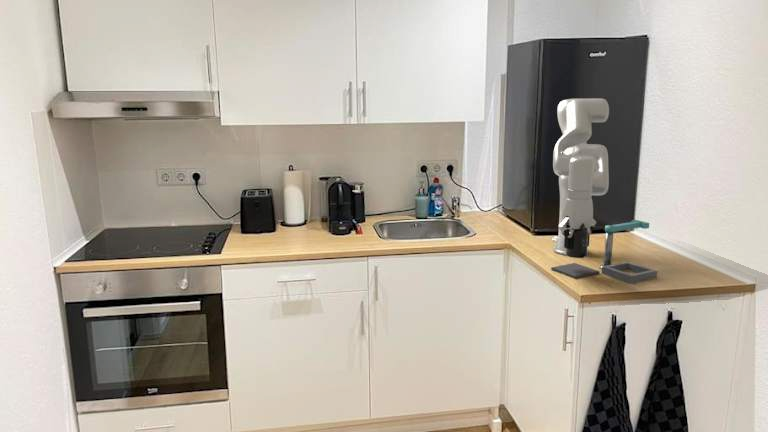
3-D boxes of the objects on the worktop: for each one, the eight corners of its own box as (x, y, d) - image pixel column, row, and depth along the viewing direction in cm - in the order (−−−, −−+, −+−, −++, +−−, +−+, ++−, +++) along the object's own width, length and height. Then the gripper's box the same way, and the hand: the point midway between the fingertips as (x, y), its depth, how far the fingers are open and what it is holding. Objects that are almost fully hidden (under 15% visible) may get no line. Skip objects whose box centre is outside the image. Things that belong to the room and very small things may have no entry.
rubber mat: (551, 269, 195) (551, 267, 195) (574, 265, 200) (574, 262, 200) (575, 278, 185) (575, 276, 185) (599, 273, 190) (599, 271, 190)
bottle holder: (601, 273, 190) (602, 266, 189) (626, 268, 195) (627, 261, 195) (631, 283, 180) (632, 276, 179) (656, 277, 185) (657, 270, 184)
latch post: (596, 267, 196) (598, 231, 194) (606, 265, 199) (609, 229, 196) (607, 271, 192) (610, 234, 189) (618, 269, 194) (620, 233, 191)
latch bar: (613, 233, 189) (613, 228, 189) (599, 230, 194) (599, 225, 194) (648, 228, 196) (649, 223, 196) (634, 224, 202) (635, 219, 201)
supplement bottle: (582, 252, 194) (584, 218, 192) (590, 258, 188) (592, 223, 185) (562, 253, 194) (564, 219, 192) (569, 258, 188) (571, 223, 185)
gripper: (589, 191, 194) (586, 241, 198) (551, 195, 186) (548, 247, 190) (607, 194, 187) (603, 246, 191) (568, 198, 180) (565, 253, 183)
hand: (576, 246), depth 190 cm, fingers closed on supplement bottle, 6 cm apart
